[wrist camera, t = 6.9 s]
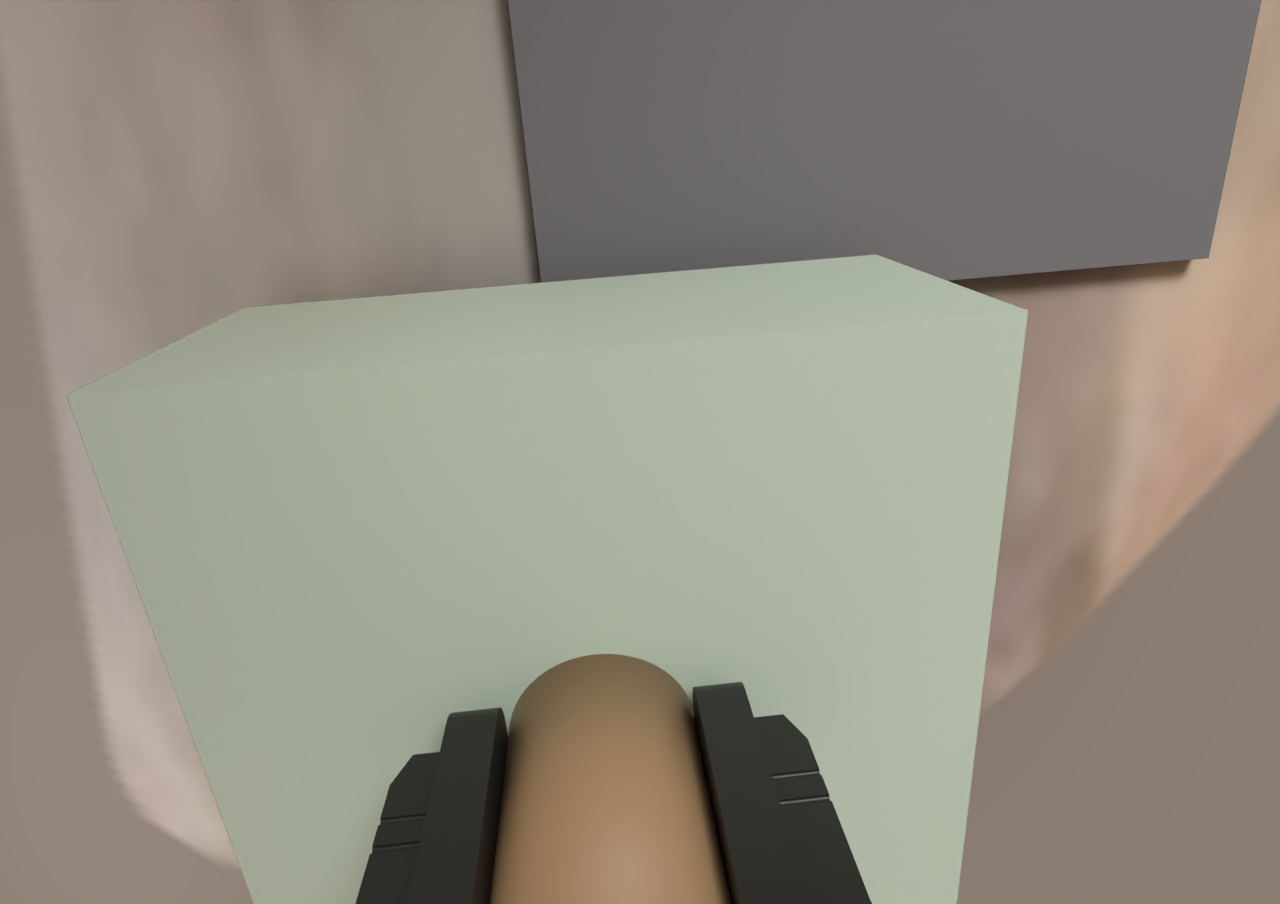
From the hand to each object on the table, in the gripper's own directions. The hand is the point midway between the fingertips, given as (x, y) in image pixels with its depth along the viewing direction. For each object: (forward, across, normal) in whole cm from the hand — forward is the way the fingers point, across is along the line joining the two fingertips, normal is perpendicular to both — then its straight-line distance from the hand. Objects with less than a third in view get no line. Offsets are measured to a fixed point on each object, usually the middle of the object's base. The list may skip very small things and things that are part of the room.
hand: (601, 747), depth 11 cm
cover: (+6, 0, 0) cm, 6 cm away
